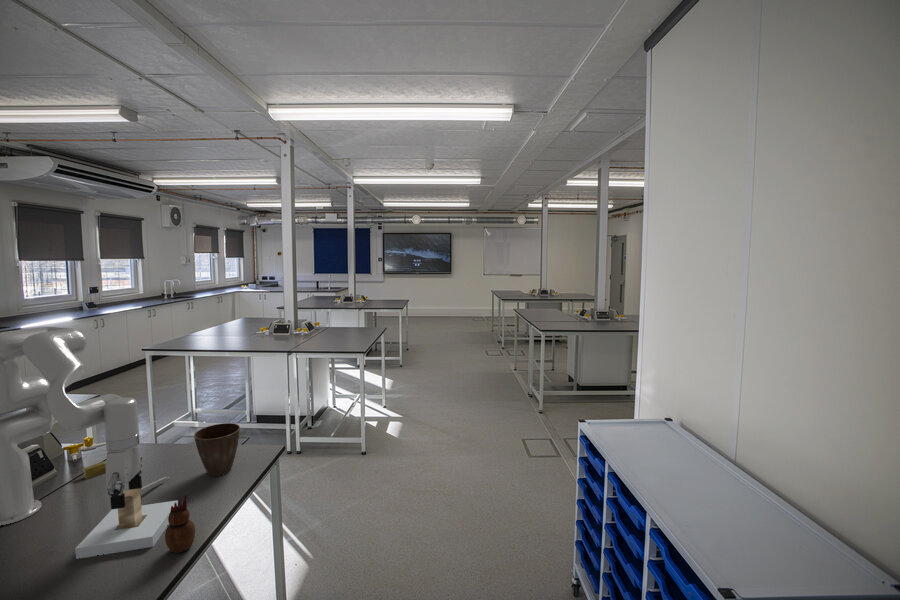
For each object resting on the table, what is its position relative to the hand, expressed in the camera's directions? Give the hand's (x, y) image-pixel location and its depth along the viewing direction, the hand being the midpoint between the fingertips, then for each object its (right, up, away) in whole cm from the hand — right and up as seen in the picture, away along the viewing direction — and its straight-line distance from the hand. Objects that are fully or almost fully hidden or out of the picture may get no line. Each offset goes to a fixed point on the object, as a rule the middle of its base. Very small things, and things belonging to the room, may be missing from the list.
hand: (127, 498), depth 120 cm
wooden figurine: (+20, -11, -7) cm, 24 cm away
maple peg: (+1, -10, +1) cm, 10 cm away
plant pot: (+7, -7, +35) cm, 37 cm away
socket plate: (+1, -10, +1) cm, 10 cm away
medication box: (-37, -8, +37) cm, 53 cm away
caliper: (-10, -9, +21) cm, 25 cm away
